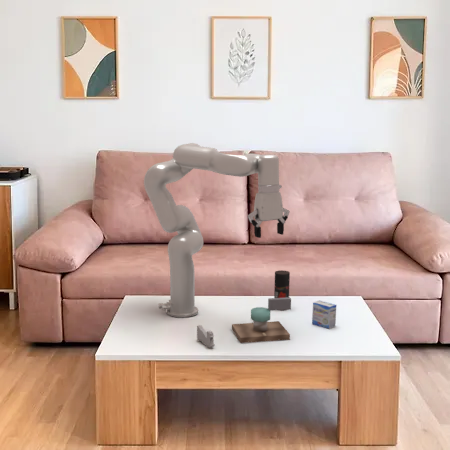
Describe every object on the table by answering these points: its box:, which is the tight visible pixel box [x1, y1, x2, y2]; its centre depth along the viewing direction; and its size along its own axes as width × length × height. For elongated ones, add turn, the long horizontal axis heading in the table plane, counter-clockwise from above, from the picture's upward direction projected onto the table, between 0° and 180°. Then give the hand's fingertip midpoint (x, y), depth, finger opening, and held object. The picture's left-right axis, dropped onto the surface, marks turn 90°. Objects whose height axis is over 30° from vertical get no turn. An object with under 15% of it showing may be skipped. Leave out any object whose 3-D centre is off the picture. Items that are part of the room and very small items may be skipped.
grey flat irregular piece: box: [196, 324, 216, 348], centre depth 239 cm, size 6×1×10 cm
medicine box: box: [311, 300, 337, 330], centre depth 258 cm, size 8×4×9 cm, turn 47°
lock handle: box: [250, 296, 292, 322], centre depth 248 cm, size 14×7×7 cm, turn 102°
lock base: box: [231, 320, 291, 344], centre depth 248 cm, size 18×14×6 cm
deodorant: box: [273, 270, 291, 312], centre depth 277 cm, size 6×6×15 cm
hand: (269, 235), depth 252 cm, fingers open, 9 cm apart
